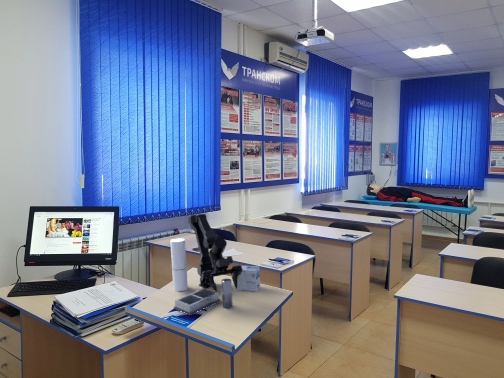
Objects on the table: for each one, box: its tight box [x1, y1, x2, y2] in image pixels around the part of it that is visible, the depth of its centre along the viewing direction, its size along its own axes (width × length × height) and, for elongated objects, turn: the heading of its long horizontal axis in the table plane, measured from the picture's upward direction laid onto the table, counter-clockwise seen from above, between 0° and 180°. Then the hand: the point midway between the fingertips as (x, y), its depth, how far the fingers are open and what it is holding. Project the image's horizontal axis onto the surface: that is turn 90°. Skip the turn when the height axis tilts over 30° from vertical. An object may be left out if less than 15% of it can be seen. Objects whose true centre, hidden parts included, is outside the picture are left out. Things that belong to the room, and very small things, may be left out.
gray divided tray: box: [173, 287, 222, 316], centre depth 168 cm, size 18×11×4 cm, turn 140°
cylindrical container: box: [169, 237, 189, 292], centre depth 187 cm, size 7×7×25 cm
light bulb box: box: [236, 265, 261, 292], centre depth 185 cm, size 11×7×11 cm, turn 74°
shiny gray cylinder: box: [220, 278, 234, 310], centre depth 165 cm, size 4×4×12 cm
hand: (226, 290), depth 165 cm, fingers open, 9 cm apart
